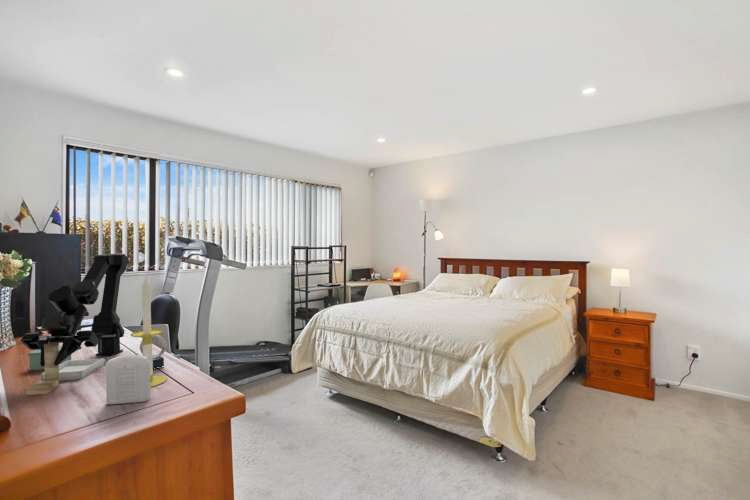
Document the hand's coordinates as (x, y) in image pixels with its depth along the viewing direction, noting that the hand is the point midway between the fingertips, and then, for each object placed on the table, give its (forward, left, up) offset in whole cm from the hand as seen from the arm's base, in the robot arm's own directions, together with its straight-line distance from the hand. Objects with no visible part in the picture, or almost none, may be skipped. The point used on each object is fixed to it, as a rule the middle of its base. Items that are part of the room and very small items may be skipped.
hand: (48, 365), depth 110 cm
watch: (-19, -19, -7) cm, 28 cm away
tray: (+3, -12, -7) cm, 14 cm away
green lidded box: (+18, -19, -7) cm, 27 cm away
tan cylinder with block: (0, +1, -7) cm, 7 cm away
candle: (-27, -5, -7) cm, 28 cm away
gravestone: (-31, +8, -7) cm, 33 cm away
